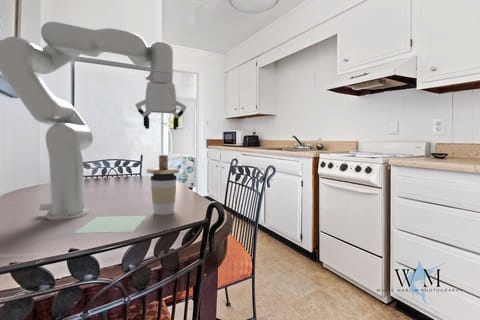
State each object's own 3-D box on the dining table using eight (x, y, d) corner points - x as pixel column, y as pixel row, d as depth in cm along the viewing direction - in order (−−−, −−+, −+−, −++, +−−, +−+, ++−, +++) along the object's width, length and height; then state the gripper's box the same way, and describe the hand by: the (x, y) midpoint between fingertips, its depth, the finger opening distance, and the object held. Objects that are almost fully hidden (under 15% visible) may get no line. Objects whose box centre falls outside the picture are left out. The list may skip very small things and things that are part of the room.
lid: (143, 174, 86) (143, 156, 86) (150, 170, 97) (150, 154, 96) (177, 173, 87) (177, 156, 87) (180, 170, 98) (180, 154, 98)
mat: (72, 234, 71) (72, 233, 71) (97, 217, 87) (97, 216, 87) (133, 232, 73) (133, 231, 73) (146, 216, 89) (146, 215, 89)
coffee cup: (169, 217, 88) (169, 173, 87) (145, 216, 90) (145, 173, 89) (180, 211, 97) (180, 171, 96) (158, 209, 98) (158, 170, 98)
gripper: (132, 75, 86) (132, 127, 87) (185, 78, 88) (184, 129, 89) (138, 81, 93) (138, 128, 94) (187, 83, 95) (186, 130, 96)
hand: (161, 129), depth 92 cm, fingers open, 9 cm apart
